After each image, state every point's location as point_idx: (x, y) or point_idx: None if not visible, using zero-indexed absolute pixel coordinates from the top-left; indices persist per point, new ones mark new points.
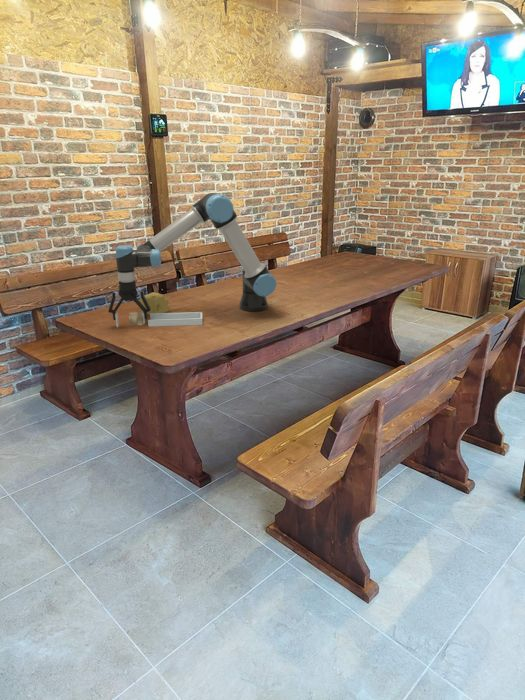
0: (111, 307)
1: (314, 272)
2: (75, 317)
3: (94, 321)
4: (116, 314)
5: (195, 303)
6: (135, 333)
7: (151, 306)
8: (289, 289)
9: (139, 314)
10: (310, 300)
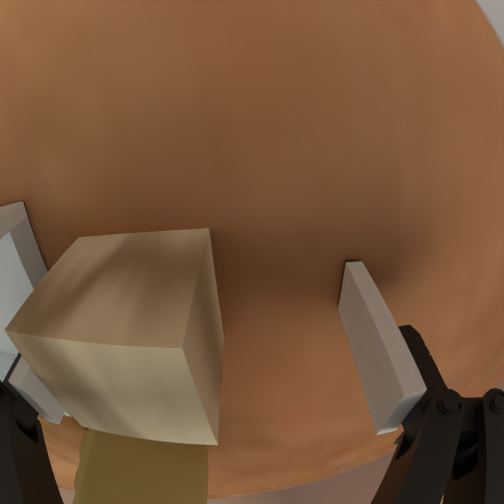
0: (495, 464)
1: None
2: (495, 382)
3: (462, 363)
4: (407, 386)
5: (74, 458)
6: (100, 61)
7: (116, 475)
8: None
9: (72, 392)
10: None
